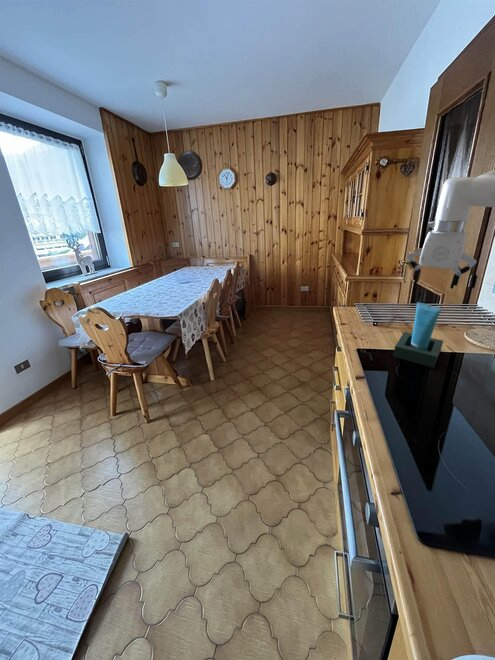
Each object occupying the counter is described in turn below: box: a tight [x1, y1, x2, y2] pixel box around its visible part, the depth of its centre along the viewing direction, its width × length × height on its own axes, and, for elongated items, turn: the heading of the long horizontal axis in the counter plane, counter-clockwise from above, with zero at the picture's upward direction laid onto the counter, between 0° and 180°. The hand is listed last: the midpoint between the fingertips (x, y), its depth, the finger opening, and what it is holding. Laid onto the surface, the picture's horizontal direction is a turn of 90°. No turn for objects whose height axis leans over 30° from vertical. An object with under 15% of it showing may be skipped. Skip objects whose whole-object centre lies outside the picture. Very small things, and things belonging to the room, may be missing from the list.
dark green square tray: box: [392, 331, 444, 369], centre depth 98 cm, size 12×12×5 cm
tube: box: [409, 301, 442, 351], centre depth 95 cm, size 7×5×19 cm, turn 39°
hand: (433, 284), depth 87 cm, fingers open, 9 cm apart
